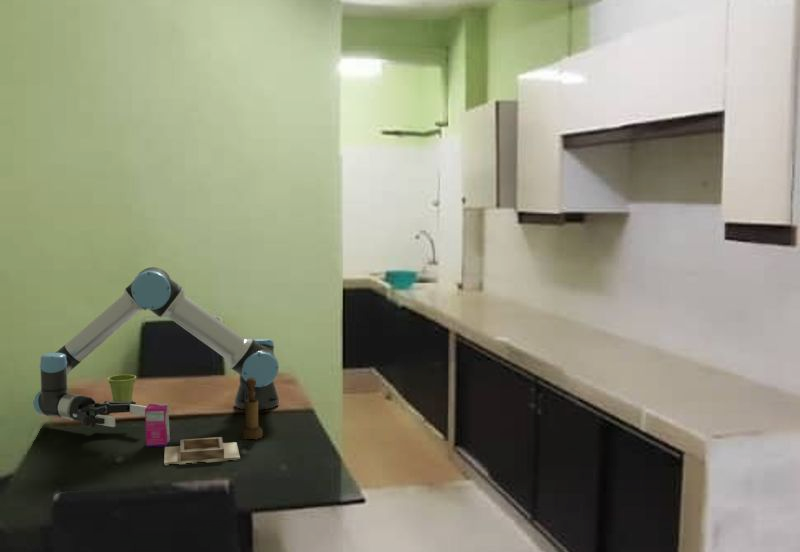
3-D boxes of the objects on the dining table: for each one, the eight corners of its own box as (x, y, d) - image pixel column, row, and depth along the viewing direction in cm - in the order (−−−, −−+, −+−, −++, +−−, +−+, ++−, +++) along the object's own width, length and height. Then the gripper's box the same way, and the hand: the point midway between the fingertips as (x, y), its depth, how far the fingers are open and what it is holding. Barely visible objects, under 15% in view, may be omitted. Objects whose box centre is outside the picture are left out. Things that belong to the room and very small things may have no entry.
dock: (236, 444, 239) (236, 433, 239) (239, 459, 226) (239, 448, 226) (164, 449, 234) (164, 438, 234) (164, 465, 221) (164, 453, 220)
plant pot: (127, 406, 281) (127, 381, 281) (102, 404, 283) (102, 379, 282) (141, 399, 291) (141, 375, 290) (117, 397, 292) (116, 373, 292)
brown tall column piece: (266, 435, 249) (266, 376, 248) (256, 441, 243) (255, 381, 241) (247, 432, 252) (246, 374, 250) (236, 438, 245) (235, 379, 244)
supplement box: (149, 441, 242) (149, 403, 241) (170, 441, 243) (169, 403, 241) (145, 447, 236) (144, 408, 235) (166, 447, 237) (165, 408, 236)
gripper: (108, 410, 263) (160, 418, 254) (45, 430, 241) (99, 440, 232) (107, 387, 263) (160, 395, 254) (44, 404, 240) (99, 414, 231)
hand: (131, 416), depth 243 cm, fingers open, 13 cm apart
